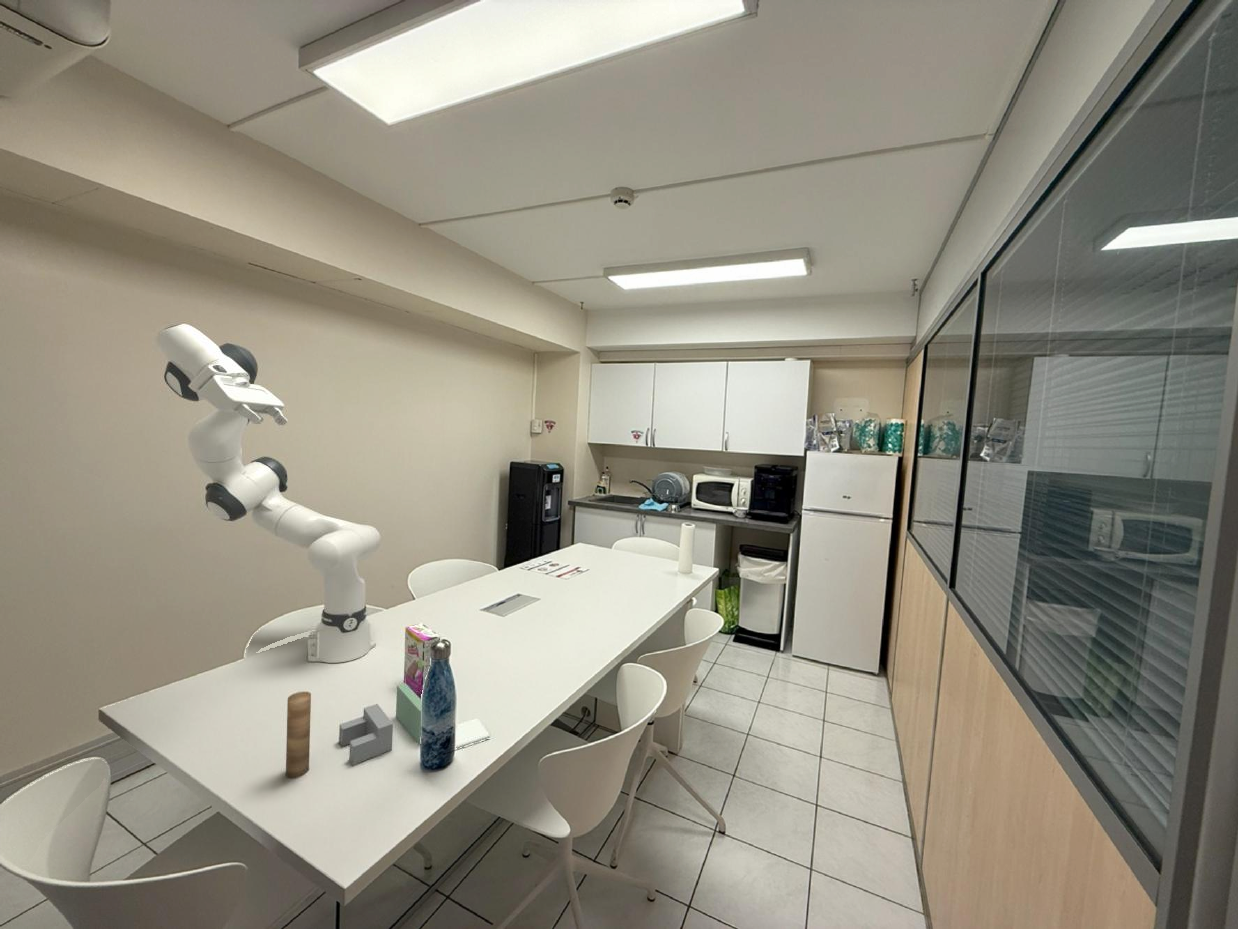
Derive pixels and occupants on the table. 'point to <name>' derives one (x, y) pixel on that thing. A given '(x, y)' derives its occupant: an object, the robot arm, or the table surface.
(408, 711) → the wall
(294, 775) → the dowel
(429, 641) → the candy bar box
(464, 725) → the external hard drive
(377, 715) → the block
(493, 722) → the table surface
